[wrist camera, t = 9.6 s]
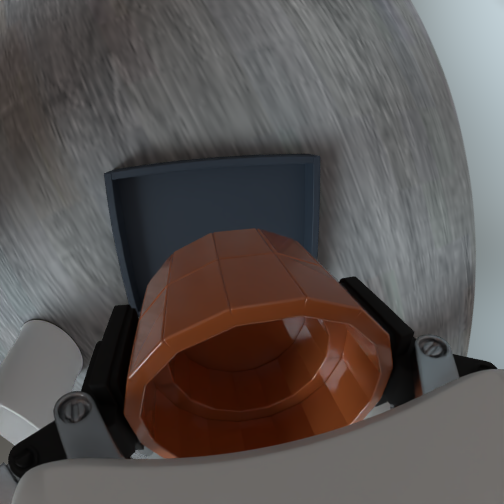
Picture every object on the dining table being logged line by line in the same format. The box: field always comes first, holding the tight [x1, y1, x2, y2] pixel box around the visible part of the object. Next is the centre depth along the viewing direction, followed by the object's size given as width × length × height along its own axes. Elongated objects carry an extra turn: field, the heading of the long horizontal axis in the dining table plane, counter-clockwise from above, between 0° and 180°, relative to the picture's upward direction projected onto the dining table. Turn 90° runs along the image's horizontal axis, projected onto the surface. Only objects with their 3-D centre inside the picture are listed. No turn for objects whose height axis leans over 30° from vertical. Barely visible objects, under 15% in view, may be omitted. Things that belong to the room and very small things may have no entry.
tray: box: [104, 154, 320, 317], centre depth 23 cm, size 16×12×2 cm
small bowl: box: [123, 228, 393, 459], centre depth 9 cm, size 7×7×5 cm
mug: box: [0, 320, 83, 445], centre depth 19 cm, size 12×8×12 cm
